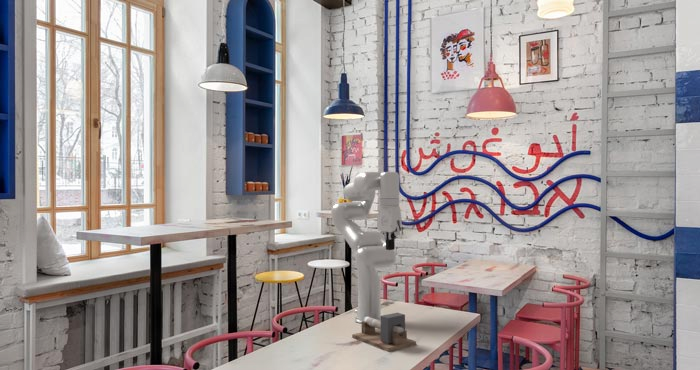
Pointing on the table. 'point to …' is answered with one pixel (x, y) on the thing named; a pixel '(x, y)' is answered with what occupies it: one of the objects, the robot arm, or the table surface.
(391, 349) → the pipe rig
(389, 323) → the collar
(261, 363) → the table surface
